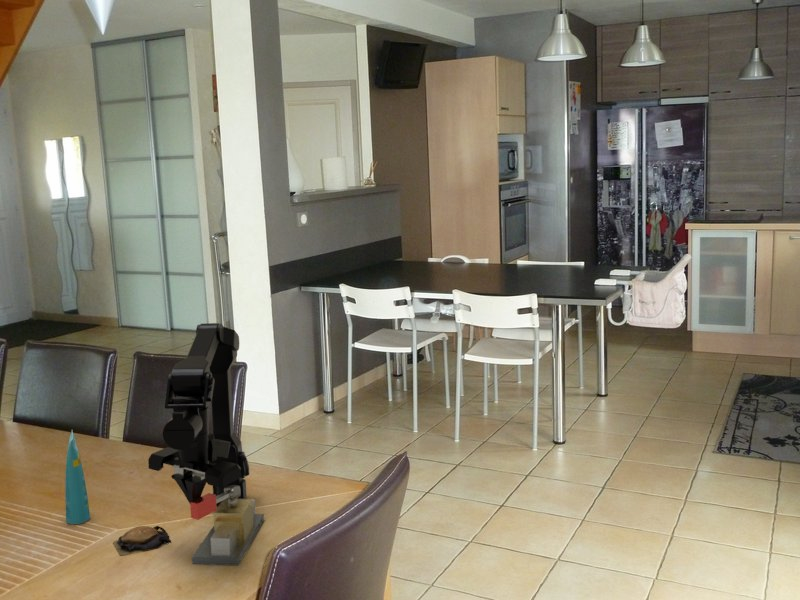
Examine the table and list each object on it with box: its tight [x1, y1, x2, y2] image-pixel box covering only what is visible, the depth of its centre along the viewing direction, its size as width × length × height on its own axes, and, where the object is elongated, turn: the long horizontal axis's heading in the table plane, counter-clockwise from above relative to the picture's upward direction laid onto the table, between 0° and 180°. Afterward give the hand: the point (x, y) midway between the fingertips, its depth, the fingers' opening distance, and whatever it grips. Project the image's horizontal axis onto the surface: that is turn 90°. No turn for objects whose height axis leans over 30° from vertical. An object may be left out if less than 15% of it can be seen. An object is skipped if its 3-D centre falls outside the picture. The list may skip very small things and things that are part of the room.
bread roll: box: [112, 525, 172, 557], centre depth 166 cm, size 11×8×4 cm
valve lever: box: [189, 485, 241, 520], centre depth 160 cm, size 12×3×3 cm, turn 149°
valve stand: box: [191, 498, 265, 566], centre depth 165 cm, size 9×20×9 cm, turn 175°
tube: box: [64, 430, 91, 525], centre depth 176 cm, size 7×5×19 cm, turn 26°
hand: (195, 508), depth 158 cm, fingers closed
